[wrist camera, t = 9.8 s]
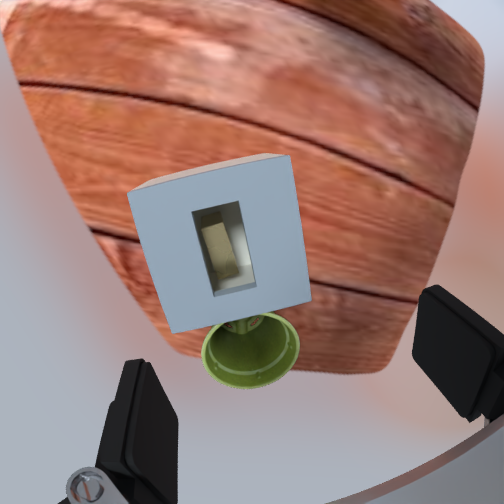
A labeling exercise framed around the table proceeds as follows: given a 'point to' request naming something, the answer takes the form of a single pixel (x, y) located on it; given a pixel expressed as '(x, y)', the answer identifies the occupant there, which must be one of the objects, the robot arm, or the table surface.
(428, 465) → the robot arm
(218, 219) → the block
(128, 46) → the table surface
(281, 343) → the plant pot
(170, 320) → the grey slotted box
